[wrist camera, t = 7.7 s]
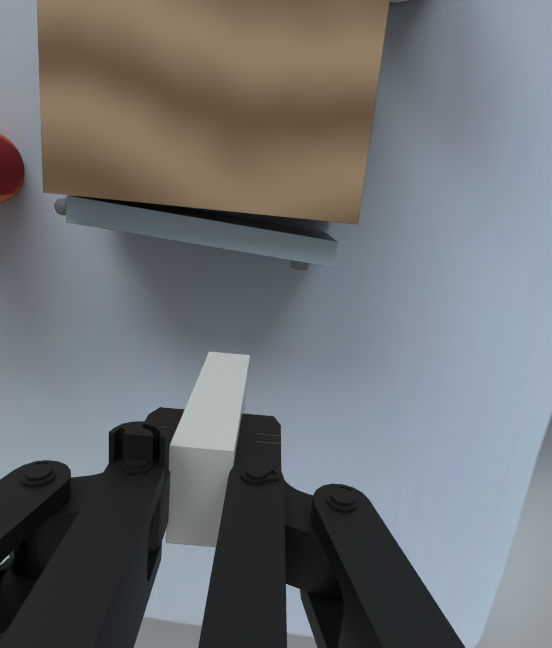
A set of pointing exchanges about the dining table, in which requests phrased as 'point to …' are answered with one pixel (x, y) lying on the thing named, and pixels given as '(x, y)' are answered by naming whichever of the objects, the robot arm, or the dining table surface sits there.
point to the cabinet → (211, 102)
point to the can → (397, 1)
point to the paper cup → (9, 169)
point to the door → (203, 228)
